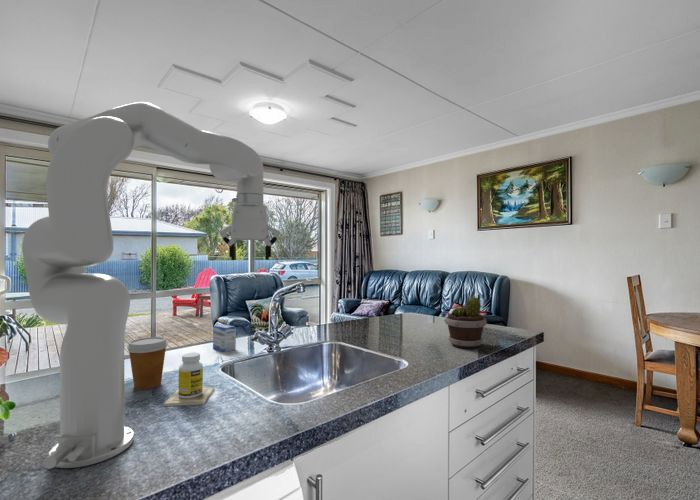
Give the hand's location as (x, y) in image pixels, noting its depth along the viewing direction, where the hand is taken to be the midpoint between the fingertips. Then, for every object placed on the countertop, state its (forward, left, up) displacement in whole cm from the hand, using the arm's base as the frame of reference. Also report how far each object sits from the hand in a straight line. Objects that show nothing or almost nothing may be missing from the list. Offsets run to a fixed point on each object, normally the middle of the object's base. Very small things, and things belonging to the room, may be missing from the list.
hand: (250, 259), depth 106 cm
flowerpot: (+22, -75, -34) cm, 85 cm away
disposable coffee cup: (-6, +26, -34) cm, 43 cm away
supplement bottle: (-16, +12, -33) cm, 38 cm away
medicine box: (+29, +14, -34) cm, 47 cm away
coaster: (-16, +12, -33) cm, 39 cm away
